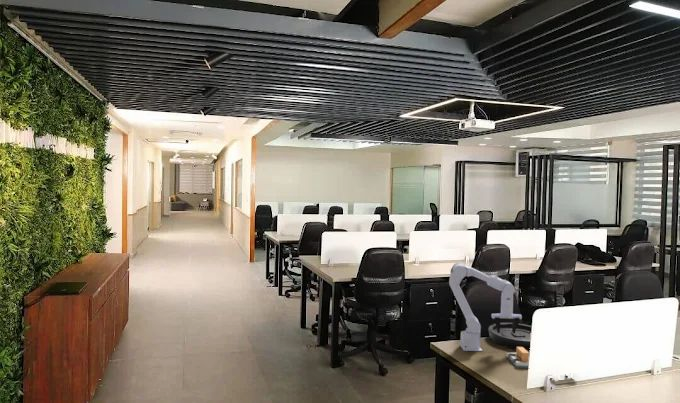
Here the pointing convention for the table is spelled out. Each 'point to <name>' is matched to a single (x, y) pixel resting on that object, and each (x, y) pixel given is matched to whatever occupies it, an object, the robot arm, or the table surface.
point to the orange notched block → (522, 353)
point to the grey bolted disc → (511, 335)
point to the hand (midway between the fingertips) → (505, 332)
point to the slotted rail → (517, 360)
